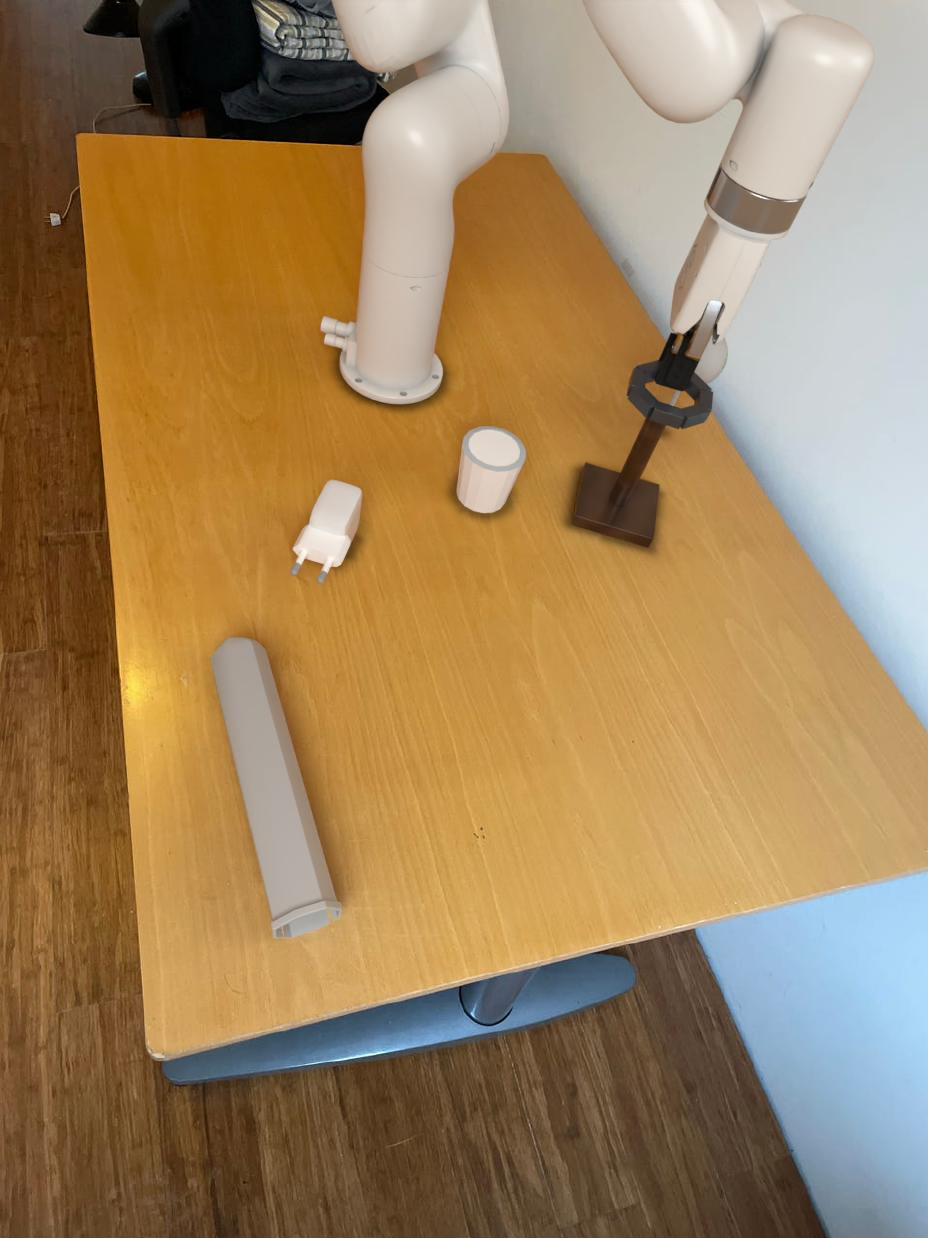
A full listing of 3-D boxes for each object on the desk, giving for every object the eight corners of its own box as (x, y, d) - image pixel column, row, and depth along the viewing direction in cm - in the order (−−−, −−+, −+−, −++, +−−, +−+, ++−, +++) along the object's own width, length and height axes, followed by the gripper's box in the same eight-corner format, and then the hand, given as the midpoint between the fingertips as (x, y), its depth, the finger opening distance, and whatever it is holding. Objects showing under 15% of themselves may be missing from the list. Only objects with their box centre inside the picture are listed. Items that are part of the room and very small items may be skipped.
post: (571, 524, 90) (614, 424, 79) (581, 471, 96) (623, 370, 84) (648, 547, 90) (703, 450, 79) (654, 493, 96) (706, 395, 84)
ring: (622, 412, 78) (627, 400, 77) (632, 363, 83) (637, 352, 82) (704, 437, 78) (710, 426, 77) (709, 387, 83) (714, 376, 82)
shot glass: (518, 485, 92) (534, 439, 87) (500, 526, 88) (515, 479, 83) (462, 464, 93) (474, 416, 87) (442, 503, 88) (453, 455, 83)
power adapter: (329, 607, 78) (332, 569, 73) (280, 592, 78) (281, 553, 73) (365, 527, 84) (370, 487, 80) (320, 513, 84) (323, 472, 80)
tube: (192, 640, 68) (260, 932, 56) (253, 617, 69) (333, 902, 56) (217, 668, 73) (284, 944, 60) (273, 646, 73) (351, 916, 61)
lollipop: (684, 457, 101) (739, 355, 89) (629, 441, 100) (676, 337, 89) (686, 421, 105) (738, 319, 93) (633, 406, 105) (679, 302, 93)
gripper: (714, 146, 73) (641, 325, 87) (707, 230, 63) (626, 416, 78) (794, 171, 73) (708, 345, 87) (799, 258, 63) (702, 438, 78)
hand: (670, 377), depth 82 cm, fingers closed on ring, 1 cm apart
